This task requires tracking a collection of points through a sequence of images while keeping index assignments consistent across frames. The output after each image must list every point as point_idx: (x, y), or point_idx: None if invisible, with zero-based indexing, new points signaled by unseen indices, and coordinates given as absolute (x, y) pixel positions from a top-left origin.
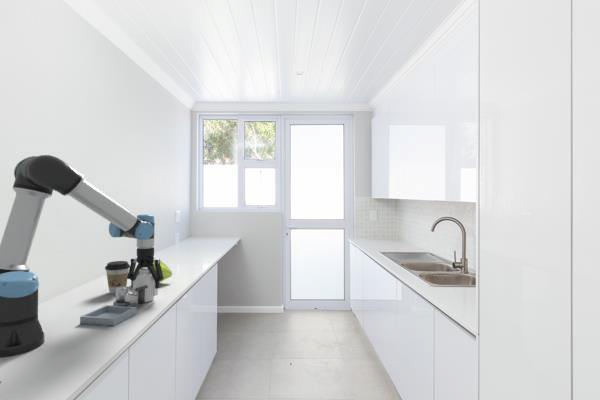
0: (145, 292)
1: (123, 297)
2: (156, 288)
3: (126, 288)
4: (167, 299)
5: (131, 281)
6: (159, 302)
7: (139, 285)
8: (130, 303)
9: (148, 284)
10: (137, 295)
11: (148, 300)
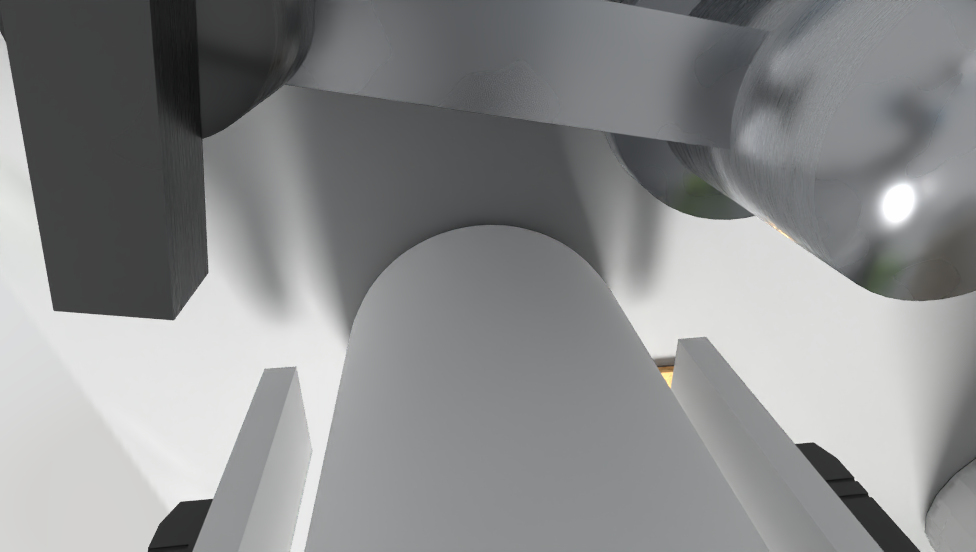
0: (393, 337)
1: (745, 14)
2: (200, 500)
3: (826, 120)
4: (183, 447)
5: (908, 546)
6: (184, 309)
7: (555, 403)
8: (607, 138)
9: (332, 512)
10: (363, 23)
11: (368, 292)
